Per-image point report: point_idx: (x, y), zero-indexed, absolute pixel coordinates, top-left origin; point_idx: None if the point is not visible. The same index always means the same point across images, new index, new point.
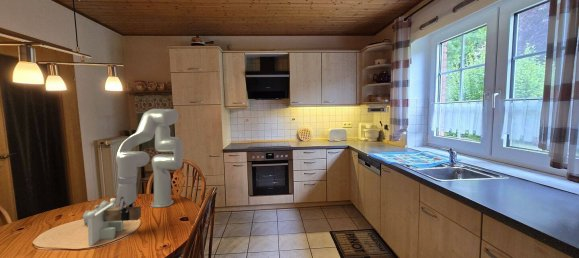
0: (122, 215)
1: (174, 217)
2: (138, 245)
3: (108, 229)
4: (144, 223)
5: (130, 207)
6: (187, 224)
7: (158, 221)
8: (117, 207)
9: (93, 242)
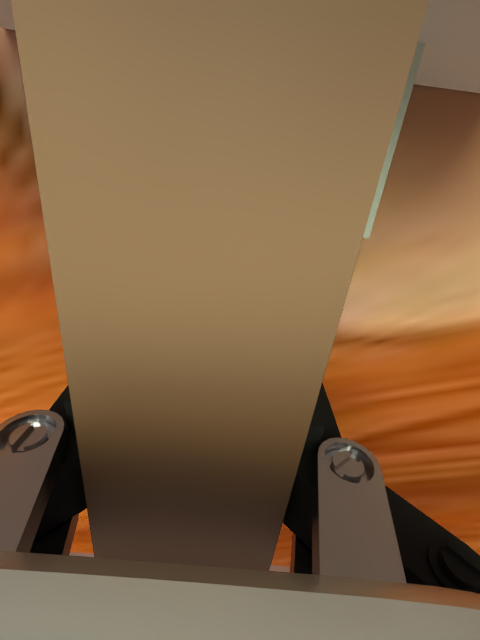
0: (64, 393)
1: (425, 510)
2: (26, 399)
3: None
4: (404, 360)
5: (233, 534)
6: (276, 563)
7: (398, 440)
8: (336, 270)
9: (6, 22)
